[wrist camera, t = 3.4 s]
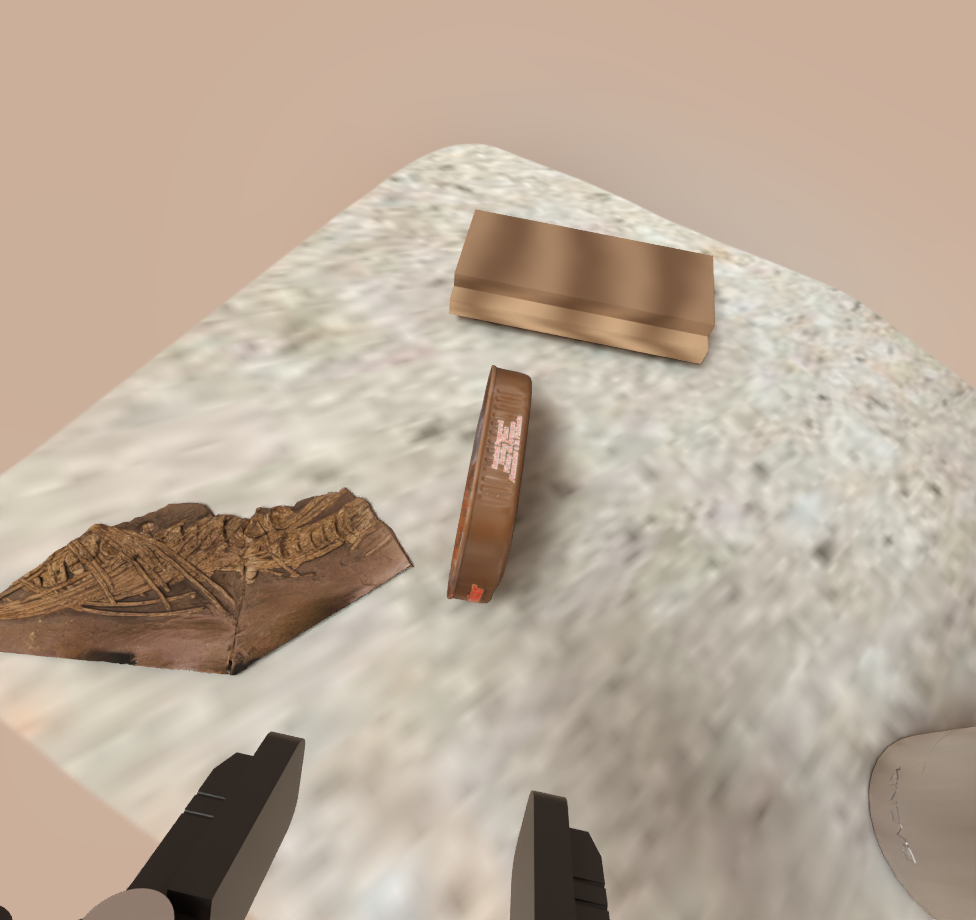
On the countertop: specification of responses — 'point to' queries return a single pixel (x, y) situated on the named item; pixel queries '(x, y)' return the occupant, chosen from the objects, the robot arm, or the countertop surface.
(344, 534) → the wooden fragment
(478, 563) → the tin
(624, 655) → the countertop surface
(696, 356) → the walnut plank
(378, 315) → the countertop surface
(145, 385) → the countertop surface
